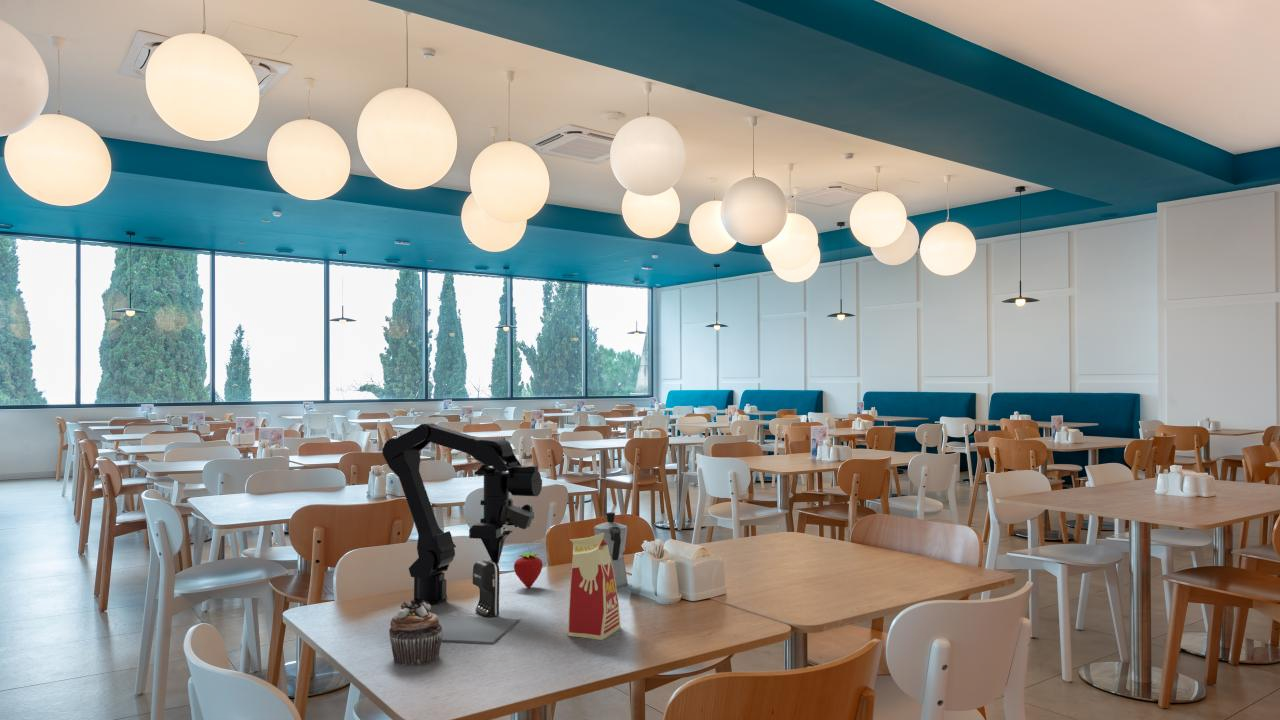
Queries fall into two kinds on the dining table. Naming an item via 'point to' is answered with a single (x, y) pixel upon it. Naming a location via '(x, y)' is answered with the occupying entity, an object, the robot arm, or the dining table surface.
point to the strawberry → (528, 568)
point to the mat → (474, 629)
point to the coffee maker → (615, 546)
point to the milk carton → (592, 590)
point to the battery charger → (487, 587)
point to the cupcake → (415, 635)
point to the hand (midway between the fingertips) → (495, 563)
